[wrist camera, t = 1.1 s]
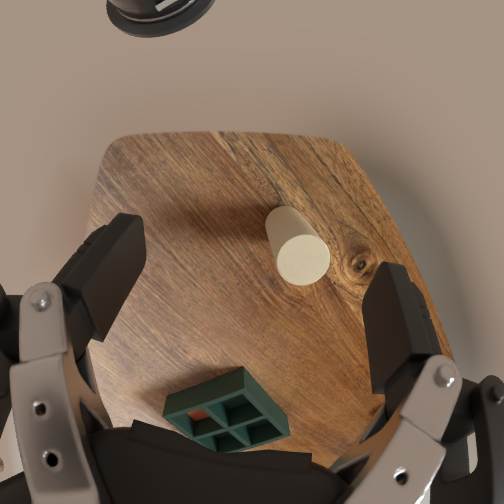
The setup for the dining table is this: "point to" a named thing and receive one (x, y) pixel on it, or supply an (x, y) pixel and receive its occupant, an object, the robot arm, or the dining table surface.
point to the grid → (227, 413)
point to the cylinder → (296, 246)
